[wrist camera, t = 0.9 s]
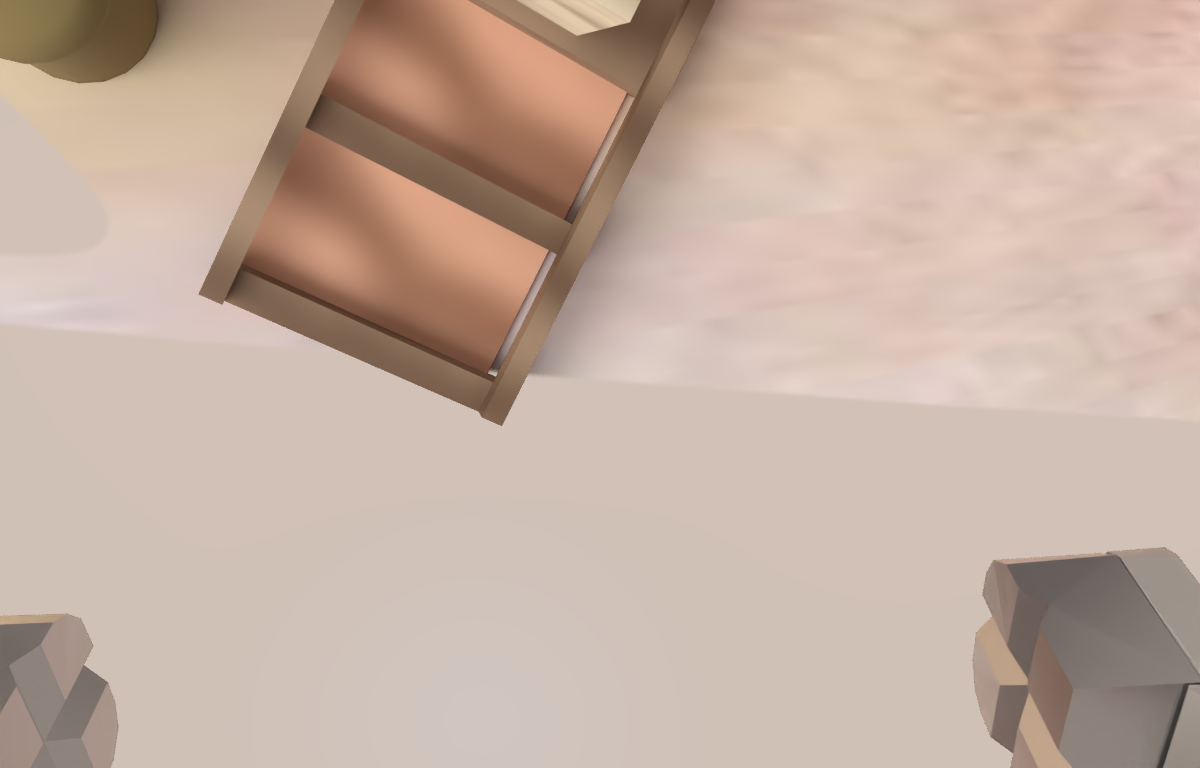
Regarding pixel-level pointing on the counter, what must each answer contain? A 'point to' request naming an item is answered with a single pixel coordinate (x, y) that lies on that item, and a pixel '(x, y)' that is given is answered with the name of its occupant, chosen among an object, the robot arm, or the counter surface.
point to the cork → (77, 36)
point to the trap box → (444, 181)
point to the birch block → (585, 13)
